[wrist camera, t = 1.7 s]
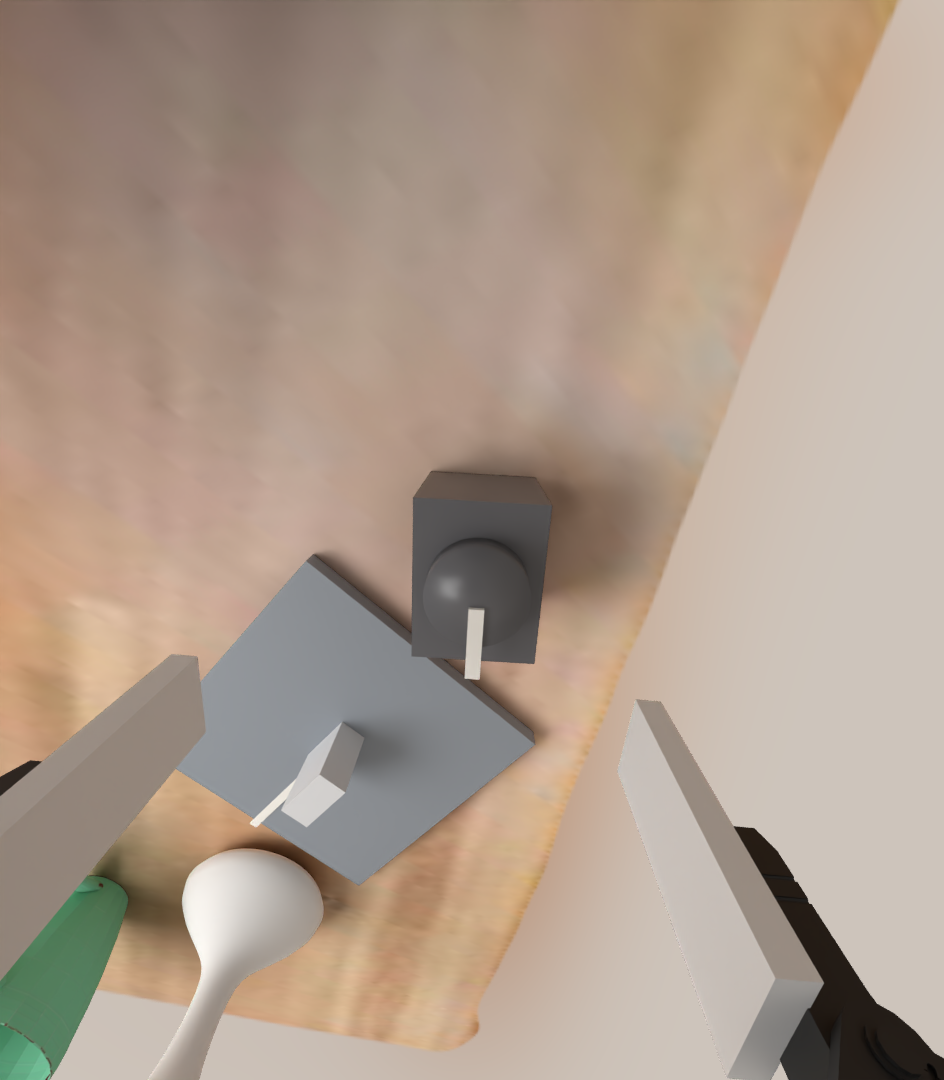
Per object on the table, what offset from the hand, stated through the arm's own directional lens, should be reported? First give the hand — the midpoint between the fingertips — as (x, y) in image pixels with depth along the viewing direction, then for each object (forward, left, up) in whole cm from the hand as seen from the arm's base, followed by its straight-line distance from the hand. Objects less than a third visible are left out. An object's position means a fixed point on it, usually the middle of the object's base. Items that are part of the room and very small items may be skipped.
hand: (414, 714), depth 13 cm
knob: (-2, +1, -15) cm, 15 cm away
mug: (+43, -2, -15) cm, 46 cm away
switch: (+16, +4, -15) cm, 23 cm away
